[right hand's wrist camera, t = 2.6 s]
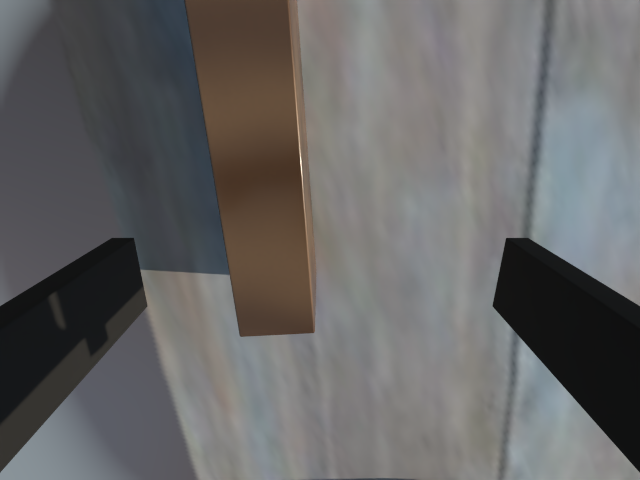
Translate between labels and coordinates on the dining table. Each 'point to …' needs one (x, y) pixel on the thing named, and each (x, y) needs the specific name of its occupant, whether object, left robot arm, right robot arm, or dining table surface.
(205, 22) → the plank
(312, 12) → the dining table surface
